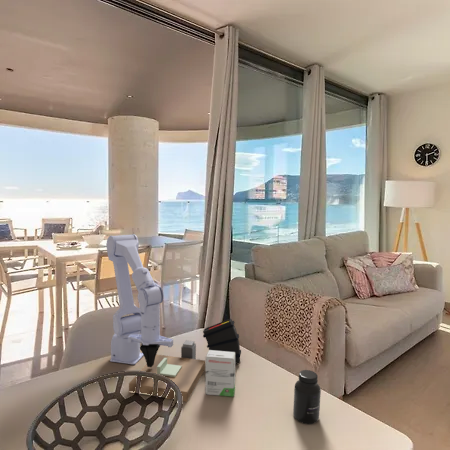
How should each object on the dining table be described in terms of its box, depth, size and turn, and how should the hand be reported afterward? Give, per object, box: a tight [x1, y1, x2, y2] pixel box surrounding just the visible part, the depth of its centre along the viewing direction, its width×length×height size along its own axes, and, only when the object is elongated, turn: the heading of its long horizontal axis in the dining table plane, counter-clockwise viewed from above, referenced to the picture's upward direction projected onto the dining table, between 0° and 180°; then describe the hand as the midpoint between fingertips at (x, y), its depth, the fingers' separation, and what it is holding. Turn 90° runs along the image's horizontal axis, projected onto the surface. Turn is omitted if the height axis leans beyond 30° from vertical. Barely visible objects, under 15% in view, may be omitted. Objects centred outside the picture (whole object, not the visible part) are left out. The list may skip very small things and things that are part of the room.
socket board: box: [128, 353, 206, 403], centre depth 110 cm, size 18×19×3 cm
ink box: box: [205, 349, 236, 398], centre depth 104 cm, size 9×5×12 cm, turn 82°
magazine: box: [202, 318, 242, 364], centre depth 123 cm, size 4×13×15 cm, turn 81°
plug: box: [180, 339, 197, 359], centre depth 122 cm, size 4×4×7 cm
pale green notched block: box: [157, 358, 182, 377], centre depth 110 cm, size 6×6×3 cm
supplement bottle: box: [292, 369, 322, 425], centre depth 93 cm, size 7×7×12 cm
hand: (150, 365), depth 111 cm, fingers closed
